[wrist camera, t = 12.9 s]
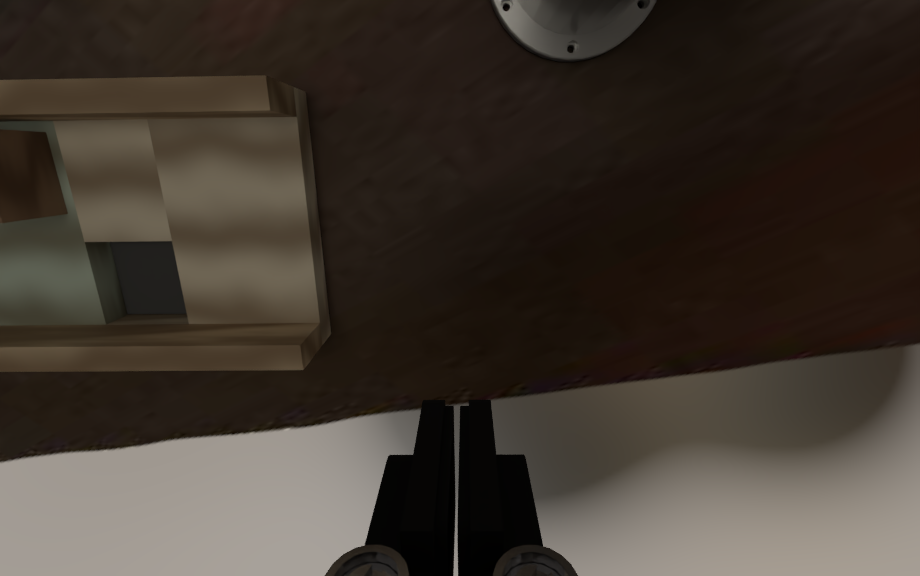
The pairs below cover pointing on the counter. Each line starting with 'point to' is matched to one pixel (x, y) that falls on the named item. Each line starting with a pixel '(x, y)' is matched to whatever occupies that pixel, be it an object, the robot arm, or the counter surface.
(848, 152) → the counter surface
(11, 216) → the walnut block
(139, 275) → the trap pit mat
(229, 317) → the channel deck
